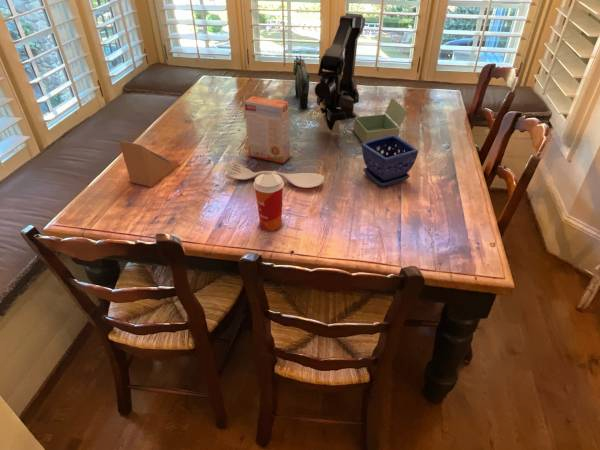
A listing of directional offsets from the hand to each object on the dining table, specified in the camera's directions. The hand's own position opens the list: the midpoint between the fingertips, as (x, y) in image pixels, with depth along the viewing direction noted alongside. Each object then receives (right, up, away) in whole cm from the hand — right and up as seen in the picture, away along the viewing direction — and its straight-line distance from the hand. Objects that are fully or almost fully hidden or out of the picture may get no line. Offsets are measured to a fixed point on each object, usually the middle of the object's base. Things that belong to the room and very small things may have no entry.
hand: (329, 128), depth 169 cm
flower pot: (+17, -22, -24) cm, 36 cm away
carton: (+18, -3, +1) cm, 18 cm away
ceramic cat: (-11, +19, +30) cm, 37 cm away
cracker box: (-23, -13, -11) cm, 29 cm away
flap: (+25, +6, -3) cm, 26 cm away
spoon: (-20, -23, -25) cm, 39 cm away
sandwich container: (-61, -20, -20) cm, 67 cm away
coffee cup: (-20, -37, -44) cm, 61 cm away
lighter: (0, -1, +1) cm, 2 cm away
